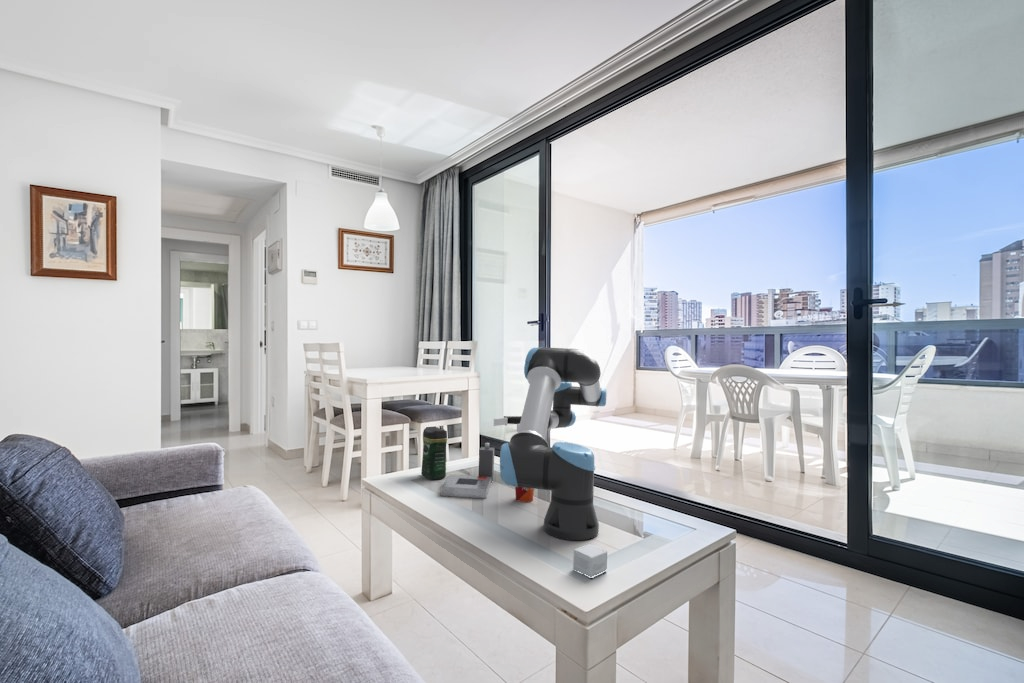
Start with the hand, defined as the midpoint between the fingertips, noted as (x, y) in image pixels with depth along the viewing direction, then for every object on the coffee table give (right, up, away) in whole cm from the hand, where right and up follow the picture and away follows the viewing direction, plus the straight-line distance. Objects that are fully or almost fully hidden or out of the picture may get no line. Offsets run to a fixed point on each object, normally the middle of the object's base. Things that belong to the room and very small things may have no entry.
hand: (505, 425), depth 184 cm
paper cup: (+7, -20, -25) cm, 33 cm away
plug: (-7, -20, -6) cm, 22 cm away
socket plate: (-13, -19, -17) cm, 29 cm away
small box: (+20, -21, -74) cm, 79 cm away
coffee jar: (-27, -19, -2) cm, 33 cm away
